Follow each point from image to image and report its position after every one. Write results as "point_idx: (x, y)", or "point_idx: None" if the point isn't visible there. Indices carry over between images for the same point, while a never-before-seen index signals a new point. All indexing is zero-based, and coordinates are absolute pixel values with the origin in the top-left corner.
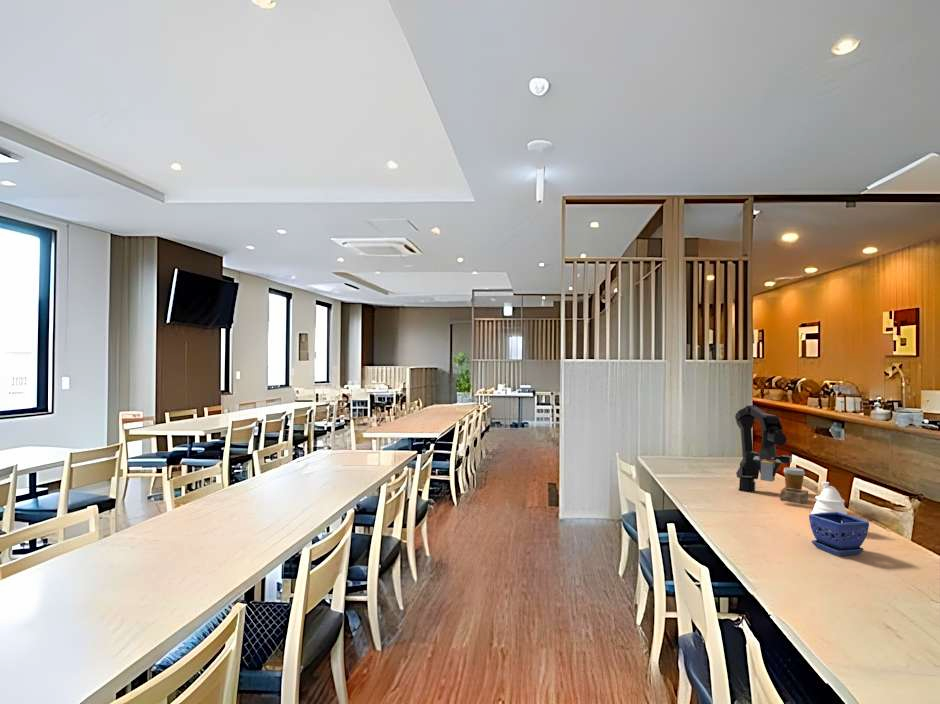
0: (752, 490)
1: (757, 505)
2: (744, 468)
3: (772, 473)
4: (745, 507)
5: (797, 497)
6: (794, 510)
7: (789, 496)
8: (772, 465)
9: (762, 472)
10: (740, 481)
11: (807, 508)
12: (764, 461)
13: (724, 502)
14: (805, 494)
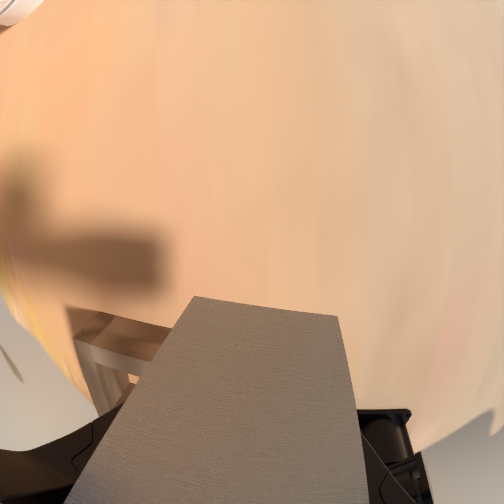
0: None
1: (316, 92)
2: (422, 500)
3: (150, 362)
4: (368, 3)
5: (113, 335)
6: (107, 124)
7: (150, 343)
8: (83, 479)
9: (321, 386)
10: (409, 450)
11: (71, 227)
12: None
13: (483, 72)
14: (79, 353)
